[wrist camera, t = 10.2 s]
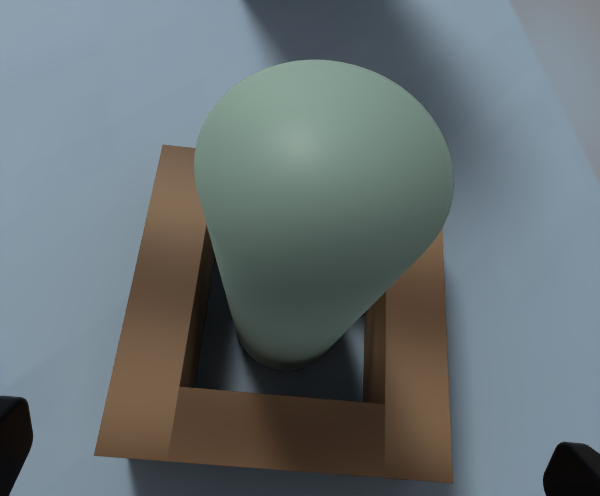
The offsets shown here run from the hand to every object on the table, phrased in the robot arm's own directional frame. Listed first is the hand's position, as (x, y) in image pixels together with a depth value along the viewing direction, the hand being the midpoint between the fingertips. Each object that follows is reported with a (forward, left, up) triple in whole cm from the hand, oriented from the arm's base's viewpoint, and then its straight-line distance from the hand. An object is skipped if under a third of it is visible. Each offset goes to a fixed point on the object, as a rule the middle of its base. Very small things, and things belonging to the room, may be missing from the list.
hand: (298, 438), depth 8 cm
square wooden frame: (+3, -3, -11) cm, 12 cm away
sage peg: (+3, -3, -11) cm, 12 cm away
